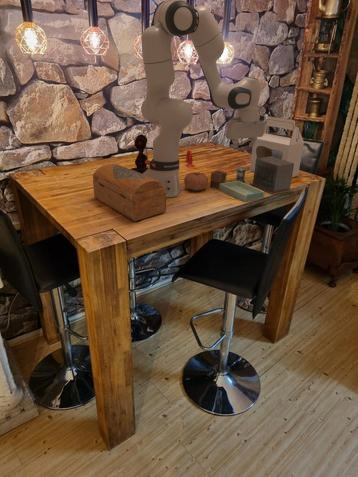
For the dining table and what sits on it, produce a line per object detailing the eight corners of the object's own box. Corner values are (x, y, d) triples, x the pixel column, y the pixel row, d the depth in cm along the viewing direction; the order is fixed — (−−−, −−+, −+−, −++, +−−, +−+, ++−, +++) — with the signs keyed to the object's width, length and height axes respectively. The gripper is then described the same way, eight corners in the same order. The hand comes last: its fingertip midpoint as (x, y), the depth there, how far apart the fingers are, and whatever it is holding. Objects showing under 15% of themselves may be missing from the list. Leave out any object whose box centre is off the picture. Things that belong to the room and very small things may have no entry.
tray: (244, 202, 148) (245, 195, 147) (219, 189, 162) (219, 183, 161) (264, 198, 153) (264, 191, 152) (237, 186, 167) (238, 180, 166)
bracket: (180, 163, 201) (180, 149, 198) (188, 163, 202) (188, 149, 199) (187, 169, 191) (188, 154, 187) (195, 168, 192) (196, 154, 189)
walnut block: (218, 189, 162) (219, 174, 159) (210, 187, 165) (211, 172, 162) (225, 187, 165) (226, 172, 162) (216, 184, 168) (218, 170, 165)
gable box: (249, 170, 192) (255, 116, 179) (263, 166, 200) (271, 114, 187) (284, 180, 177) (293, 122, 165) (298, 175, 185) (308, 120, 172)
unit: (273, 195, 157) (277, 166, 151) (249, 184, 169) (252, 158, 164) (292, 191, 163) (297, 163, 157) (268, 181, 175) (272, 155, 169)
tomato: (209, 187, 165) (210, 170, 161) (204, 194, 156) (205, 177, 152) (187, 184, 167) (188, 168, 164) (181, 191, 158) (181, 174, 155)
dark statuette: (155, 181, 170) (155, 139, 161) (125, 181, 170) (123, 138, 161) (157, 173, 183) (157, 133, 174) (128, 172, 183) (127, 132, 174)
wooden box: (168, 211, 137) (169, 177, 131) (132, 222, 128) (131, 185, 121) (127, 191, 158) (126, 160, 151) (93, 198, 148) (91, 166, 142)
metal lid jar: (239, 184, 170) (240, 170, 166) (233, 181, 173) (235, 167, 170) (245, 183, 172) (247, 169, 168) (240, 180, 175) (241, 166, 172)
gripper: (233, 118, 151) (230, 151, 157) (268, 116, 161) (264, 147, 167) (224, 116, 156) (221, 148, 162) (259, 114, 165) (255, 144, 172)
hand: (243, 147), depth 164 cm, fingers open, 8 cm apart
